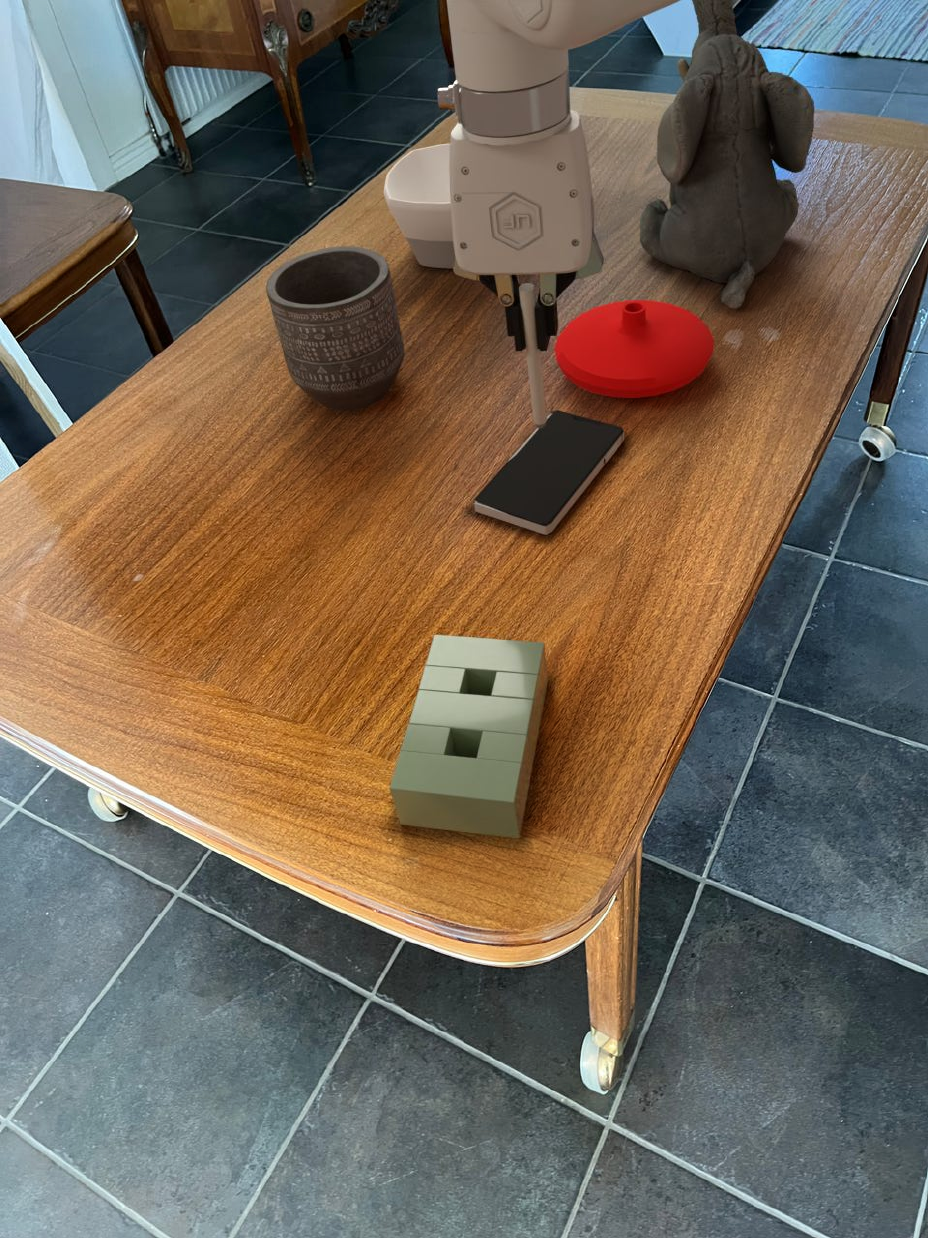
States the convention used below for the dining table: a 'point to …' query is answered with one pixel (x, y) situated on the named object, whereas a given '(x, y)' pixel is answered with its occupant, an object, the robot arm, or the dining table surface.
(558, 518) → the smartphone
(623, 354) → the red disc with nozzle
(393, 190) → the bowl
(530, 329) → the grey cylindrical rod
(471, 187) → the robot arm
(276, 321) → the planter
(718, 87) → the stuffed elephant
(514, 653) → the pen holder
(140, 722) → the dining table surface
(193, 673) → the dining table surface
